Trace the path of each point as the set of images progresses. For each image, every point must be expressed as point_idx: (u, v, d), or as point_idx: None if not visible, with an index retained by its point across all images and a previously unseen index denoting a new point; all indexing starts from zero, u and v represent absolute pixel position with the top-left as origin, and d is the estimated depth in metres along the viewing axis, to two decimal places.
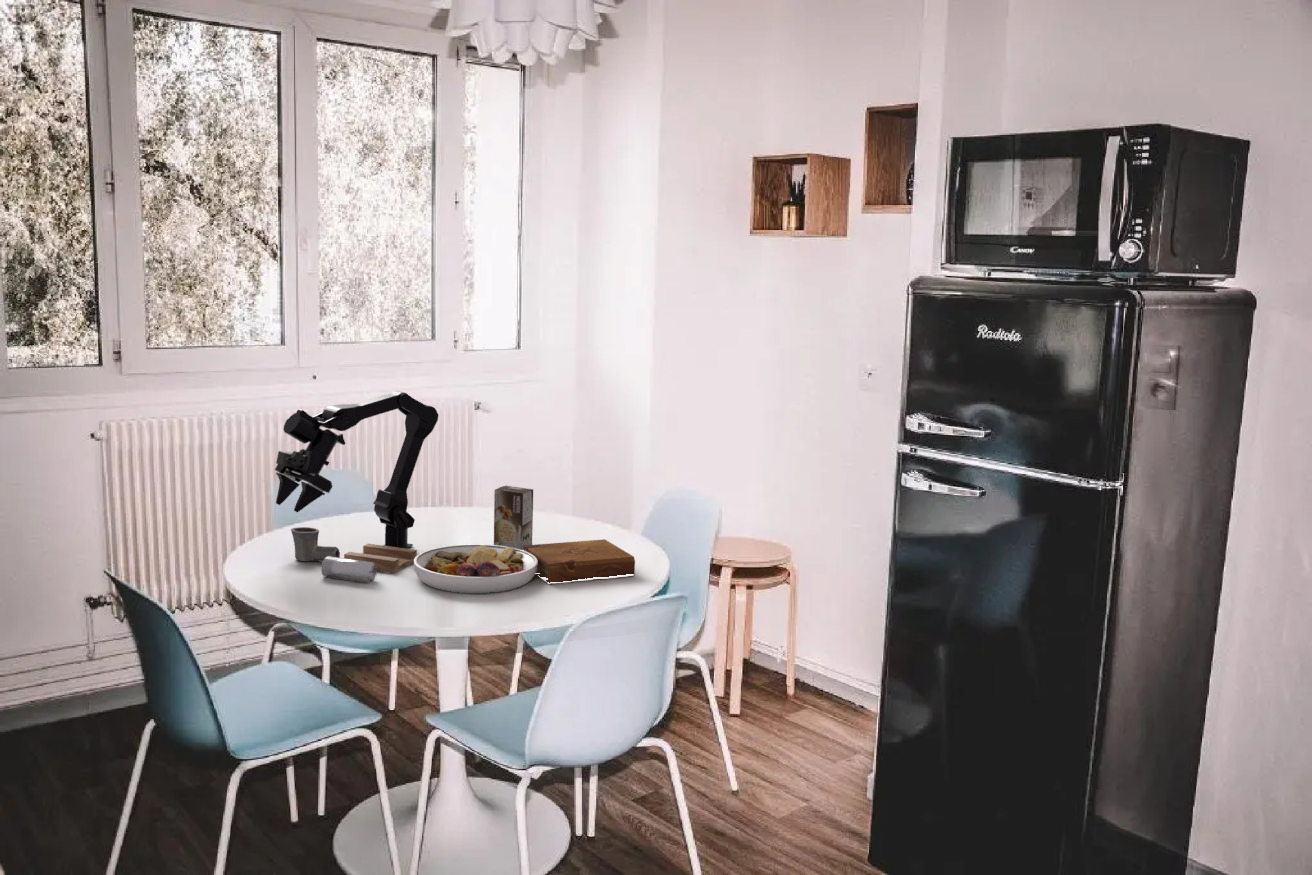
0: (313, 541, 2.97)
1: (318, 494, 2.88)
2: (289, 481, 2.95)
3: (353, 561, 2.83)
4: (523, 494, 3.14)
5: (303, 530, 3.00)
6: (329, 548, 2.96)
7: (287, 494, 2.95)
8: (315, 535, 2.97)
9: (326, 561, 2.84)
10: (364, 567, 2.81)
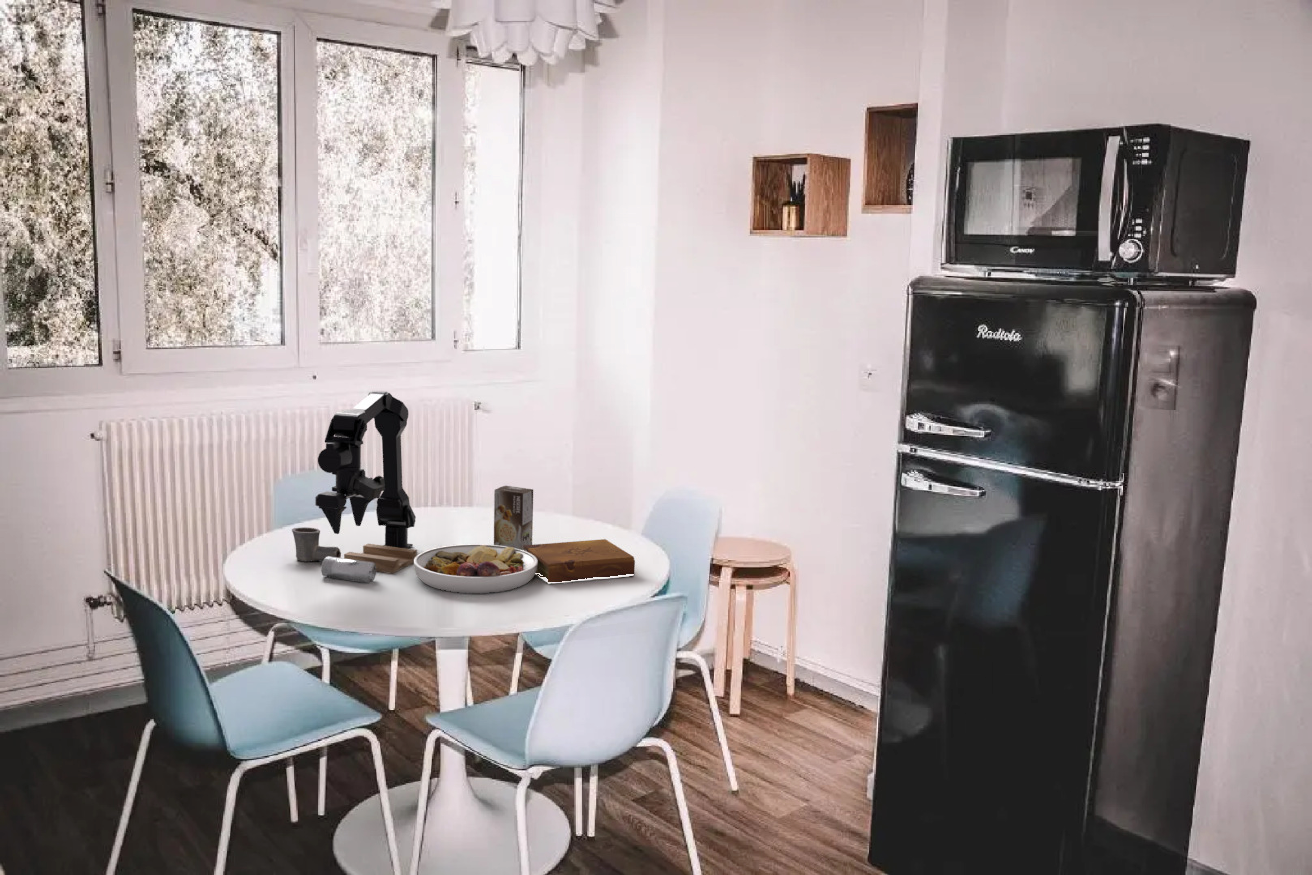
0: (314, 541, 2.97)
1: None
2: None
3: (353, 561, 2.83)
4: (523, 494, 3.14)
5: (304, 530, 3.00)
6: (330, 548, 2.96)
7: None
8: (316, 535, 2.97)
9: (326, 561, 2.84)
10: (363, 568, 2.81)
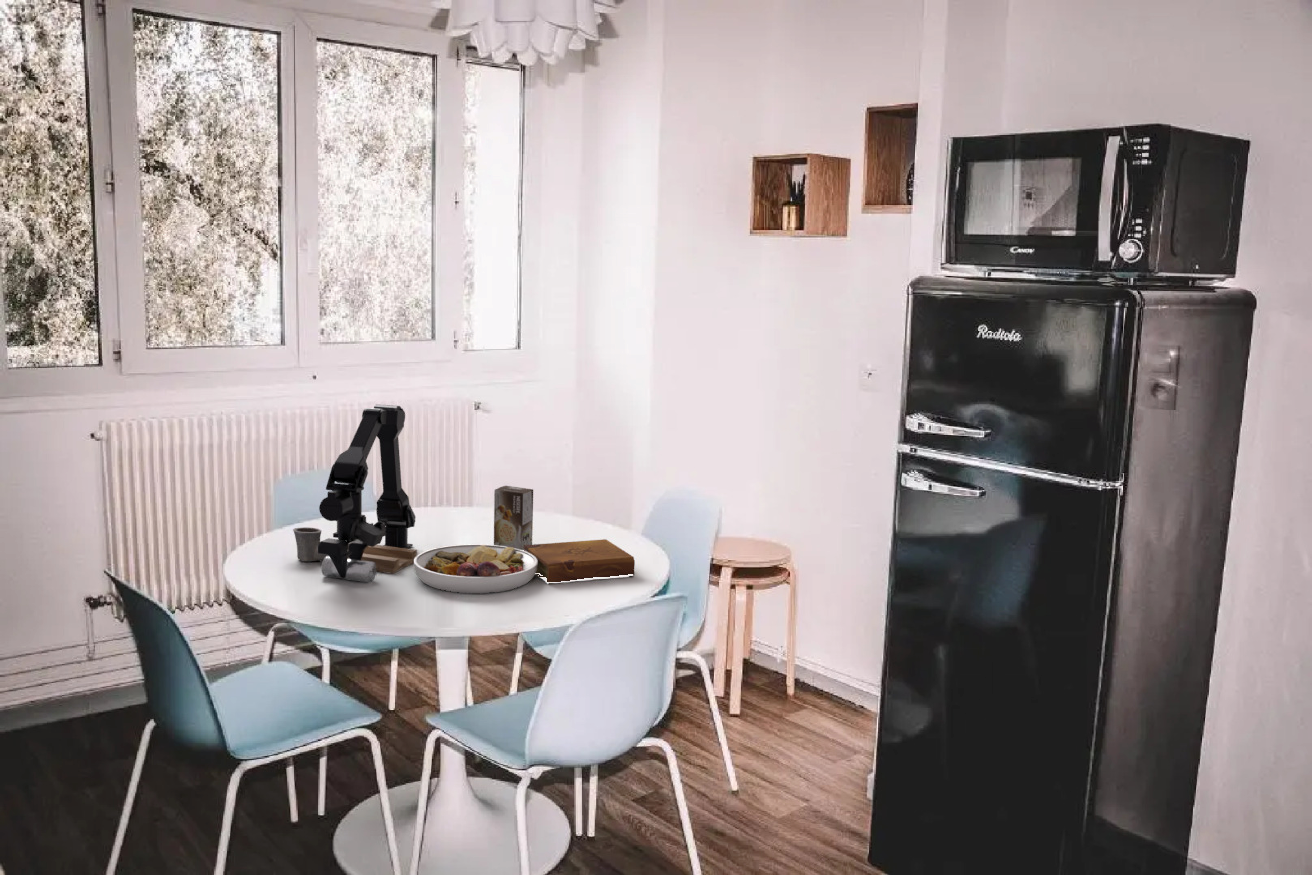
0: (315, 541, 2.96)
1: None
2: None
3: (353, 560, 2.83)
4: (523, 494, 3.14)
5: (305, 530, 3.00)
6: None
7: None
8: (317, 535, 2.97)
9: (326, 561, 2.84)
10: (364, 567, 2.81)
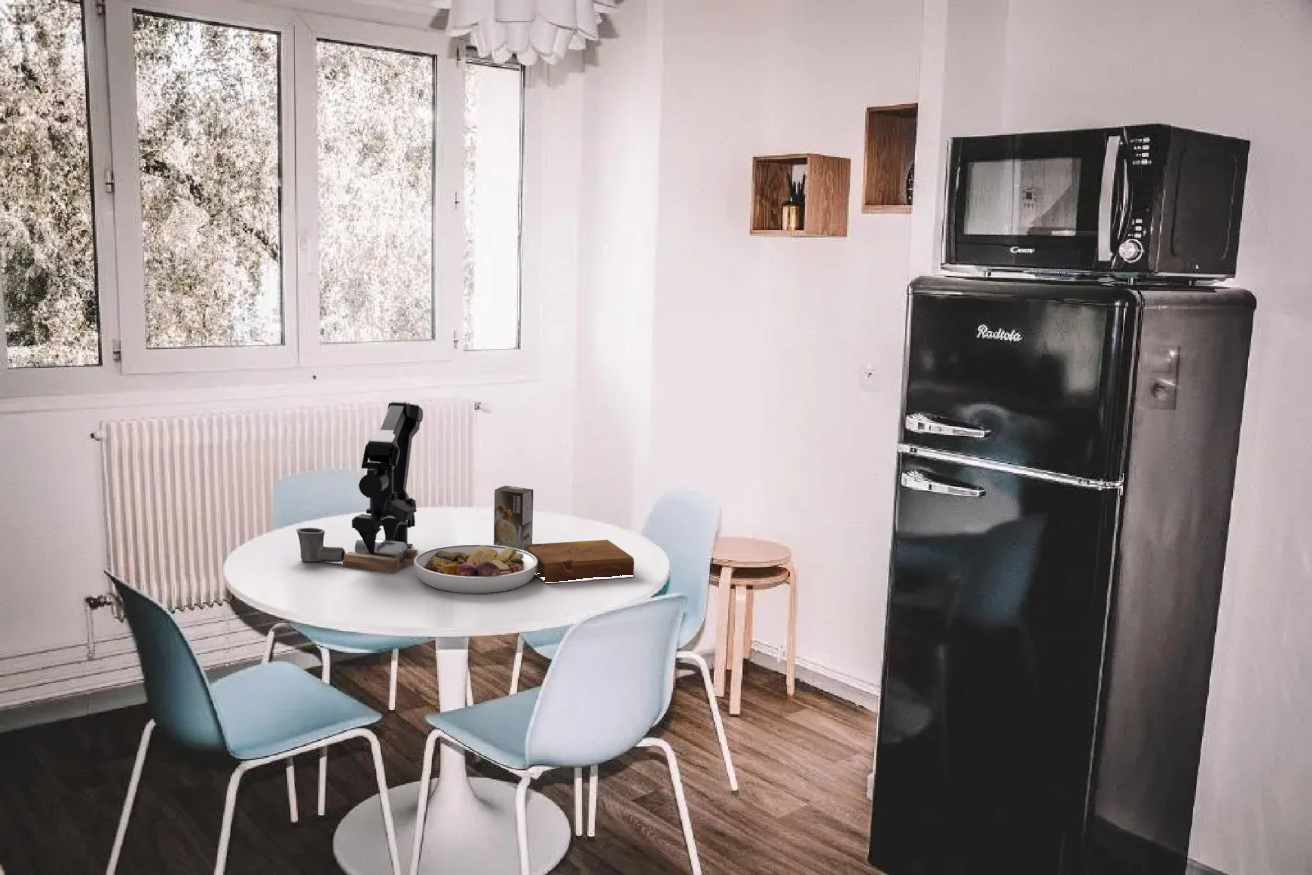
0: (319, 542, 2.96)
1: None
2: None
3: (385, 541, 2.97)
4: (523, 494, 3.14)
5: (309, 531, 3.00)
6: (335, 549, 2.96)
7: None
8: (321, 535, 2.96)
9: (360, 541, 2.98)
10: (395, 547, 2.95)
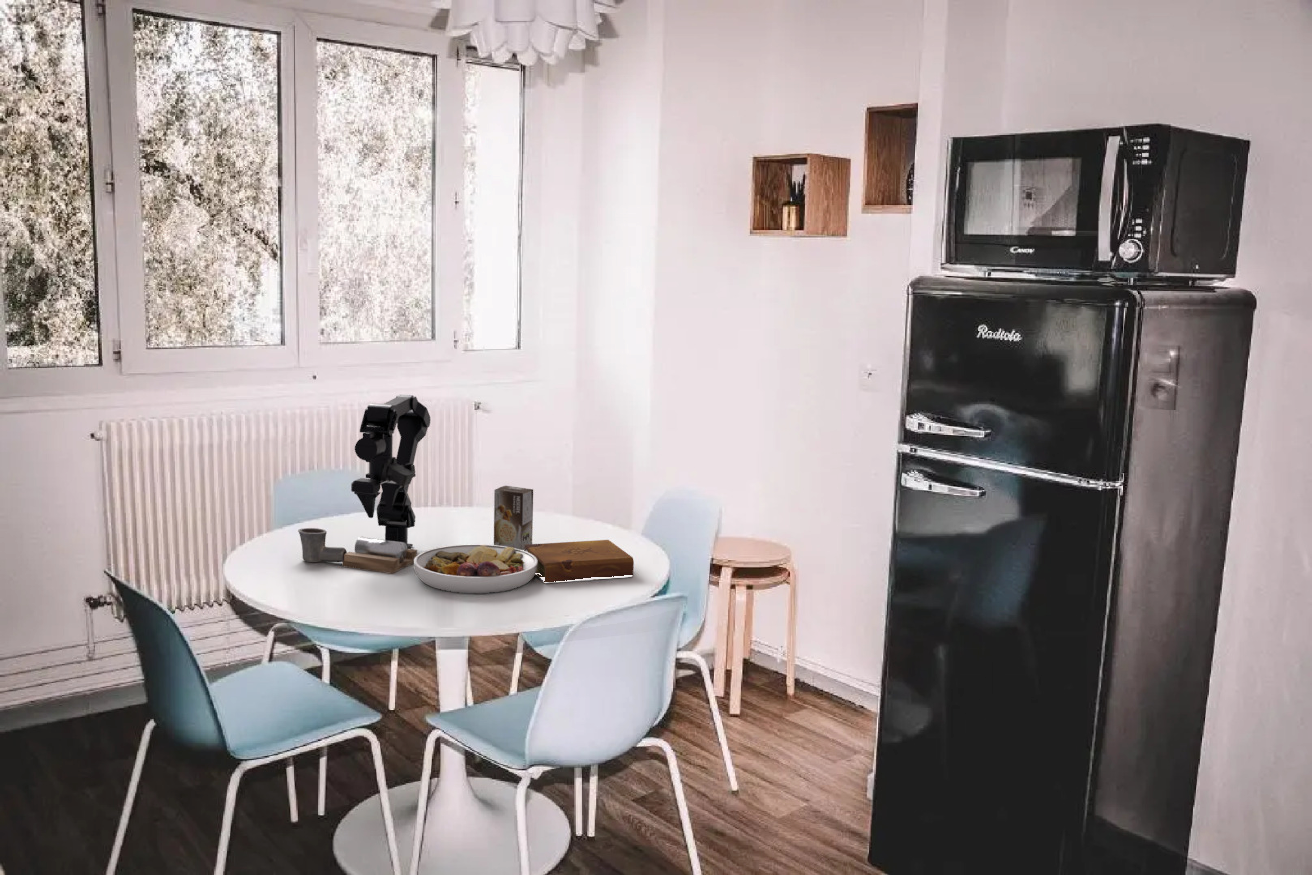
0: (321, 542, 2.96)
1: None
2: None
3: (385, 541, 2.97)
4: (523, 494, 3.14)
5: (310, 531, 2.99)
6: (337, 549, 2.96)
7: None
8: (323, 536, 2.96)
9: (359, 542, 2.98)
10: (395, 547, 2.95)
